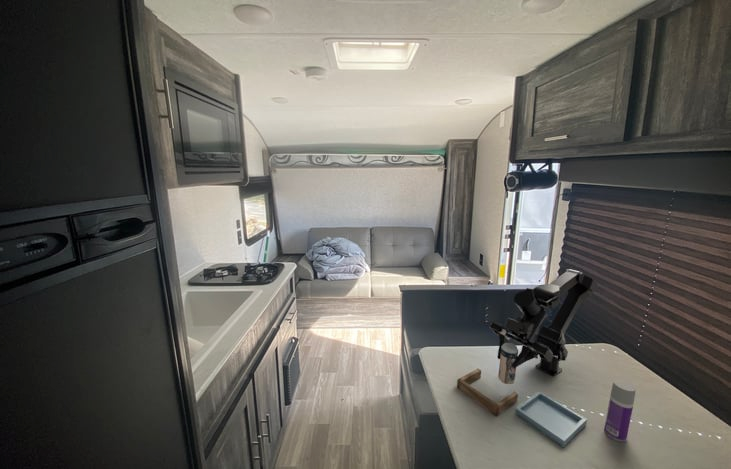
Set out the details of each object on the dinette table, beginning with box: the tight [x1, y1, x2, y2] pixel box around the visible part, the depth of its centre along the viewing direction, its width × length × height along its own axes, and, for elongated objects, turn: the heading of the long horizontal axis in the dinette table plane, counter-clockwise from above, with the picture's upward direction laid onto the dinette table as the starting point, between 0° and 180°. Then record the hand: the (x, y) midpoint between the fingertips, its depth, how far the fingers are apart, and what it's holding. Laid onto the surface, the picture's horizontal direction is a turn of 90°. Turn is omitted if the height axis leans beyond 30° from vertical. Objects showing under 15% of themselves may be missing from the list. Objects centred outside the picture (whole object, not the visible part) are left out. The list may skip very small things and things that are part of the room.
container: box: [603, 379, 637, 442], centre depth 78 cm, size 5×5×15 cm
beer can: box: [497, 342, 519, 385], centre depth 92 cm, size 5×5×12 cm
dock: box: [456, 368, 519, 417], centre depth 94 cm, size 11×14×3 cm
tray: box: [514, 391, 588, 448], centre depth 84 cm, size 13×13×2 cm
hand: (505, 362), depth 91 cm, fingers closed on beer can, 5 cm apart
